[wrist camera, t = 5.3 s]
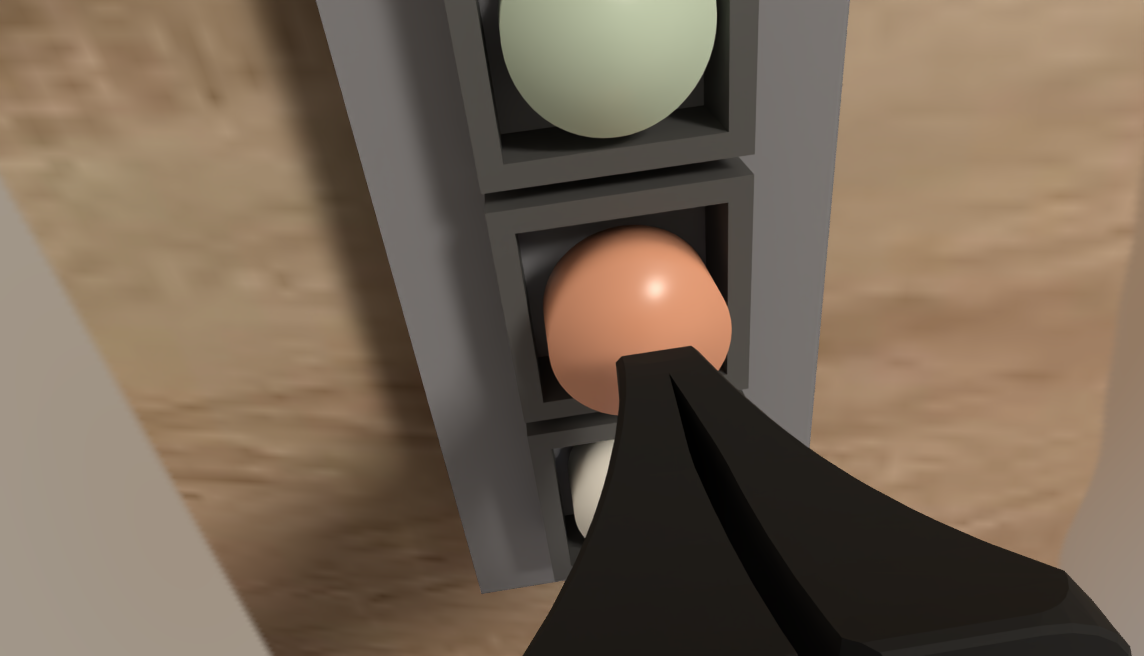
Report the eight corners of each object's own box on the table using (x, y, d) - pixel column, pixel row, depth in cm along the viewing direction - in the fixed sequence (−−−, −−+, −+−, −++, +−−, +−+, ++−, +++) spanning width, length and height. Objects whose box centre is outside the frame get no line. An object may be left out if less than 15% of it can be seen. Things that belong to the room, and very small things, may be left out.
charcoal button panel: (768, 474, 25) (824, 590, 21) (481, 519, 25) (481, 646, 21) (809, -331, 14) (945, -413, 10) (279, -265, 13) (193, -320, 9)
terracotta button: (710, 358, 17) (731, 401, 15) (553, 382, 16) (560, 428, 15) (709, 212, 15) (732, 247, 13) (531, 239, 14) (537, 277, 13)
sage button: (695, 98, 14) (716, 122, 13) (514, 124, 14) (517, 151, 13) (691, -114, 12) (716, -111, 11) (481, -86, 12) (482, -80, 11)
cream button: (702, 499, 20) (718, 543, 19) (575, 519, 20) (582, 565, 19) (700, 399, 18) (718, 441, 17) (560, 421, 18) (566, 464, 17)
